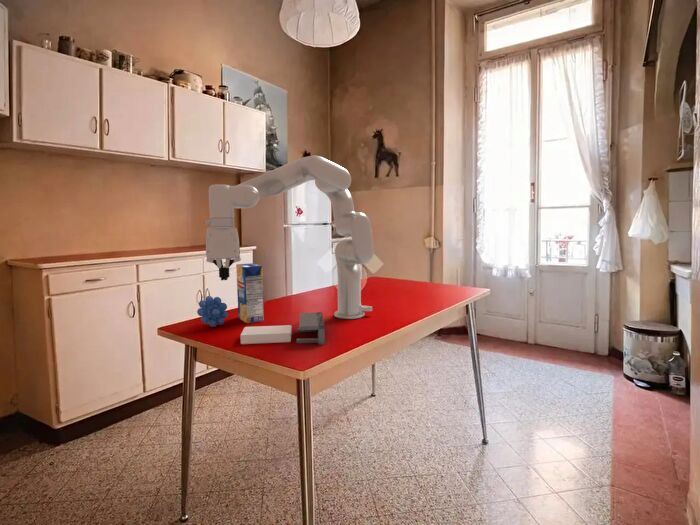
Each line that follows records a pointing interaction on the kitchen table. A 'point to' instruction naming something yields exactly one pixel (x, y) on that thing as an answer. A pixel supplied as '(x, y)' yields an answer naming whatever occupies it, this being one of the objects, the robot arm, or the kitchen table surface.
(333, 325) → the kitchen table surface
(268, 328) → the white thin flat slab
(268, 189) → the robot arm
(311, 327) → the overhang bracket
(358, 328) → the kitchen table surface
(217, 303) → the grapes
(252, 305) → the beverage box
